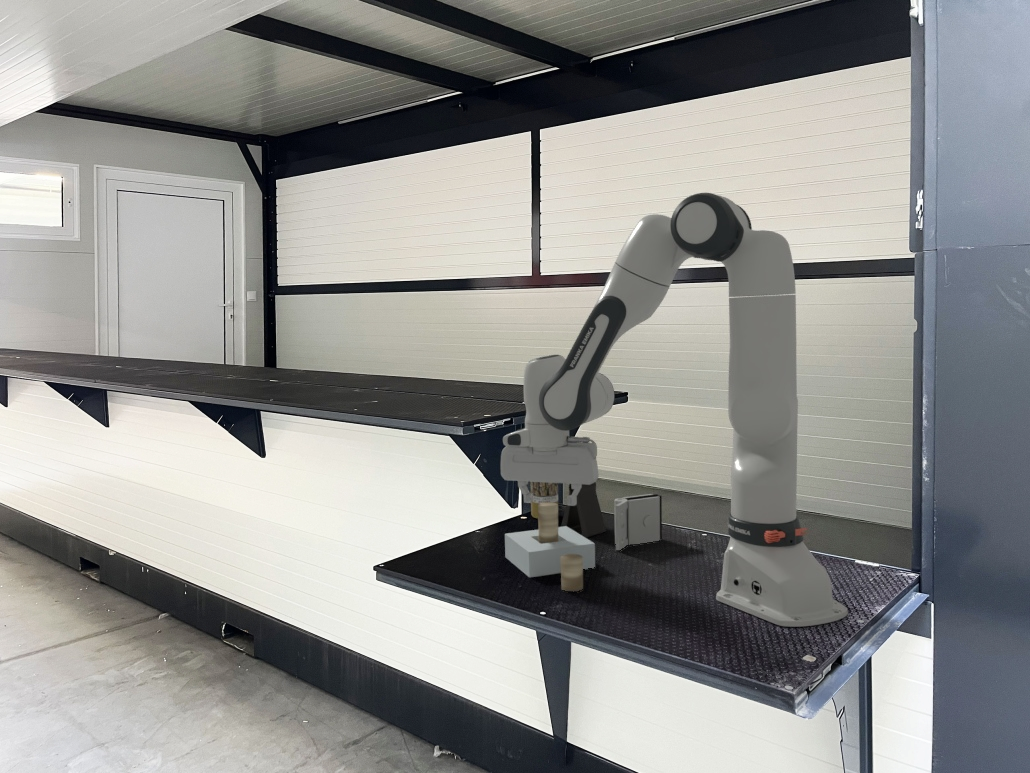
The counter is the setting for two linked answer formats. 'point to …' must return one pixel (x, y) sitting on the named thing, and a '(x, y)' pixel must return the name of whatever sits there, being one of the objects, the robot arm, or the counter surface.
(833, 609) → the robot arm
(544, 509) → the tall pin
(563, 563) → the short pin
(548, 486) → the bark-patterned tube
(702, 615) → the counter surface
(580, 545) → the hole board
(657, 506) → the hinge
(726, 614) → the counter surface
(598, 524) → the phone stand
